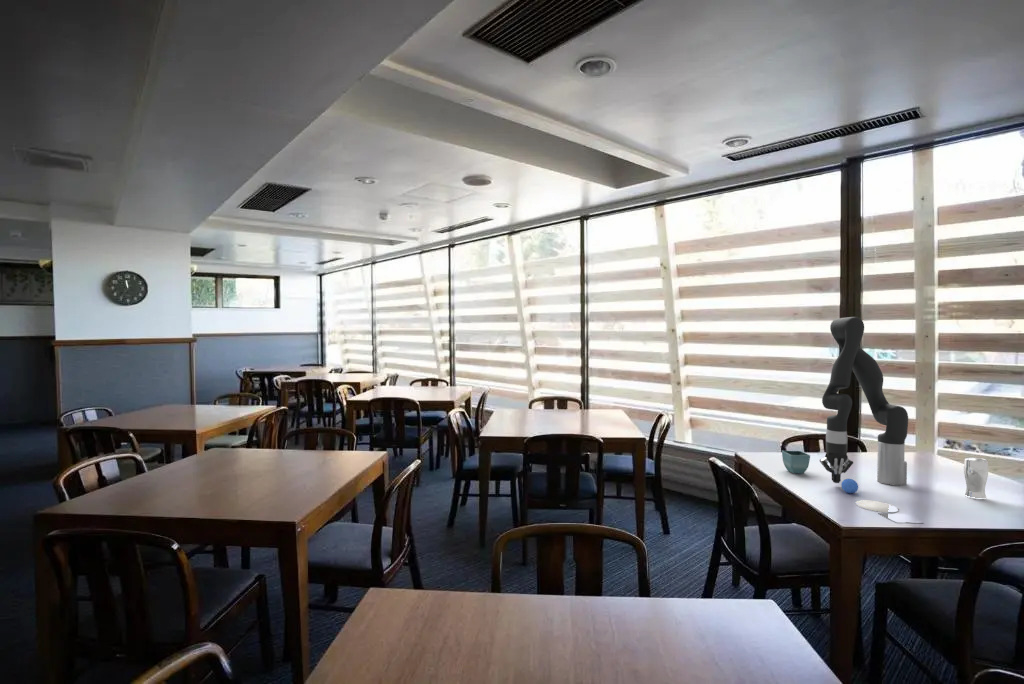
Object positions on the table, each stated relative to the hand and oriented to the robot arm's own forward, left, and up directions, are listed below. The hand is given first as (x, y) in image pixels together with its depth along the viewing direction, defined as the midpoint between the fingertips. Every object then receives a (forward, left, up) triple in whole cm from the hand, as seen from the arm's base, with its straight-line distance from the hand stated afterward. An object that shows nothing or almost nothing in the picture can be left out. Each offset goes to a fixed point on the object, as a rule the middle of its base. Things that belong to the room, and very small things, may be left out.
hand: (836, 482), depth 211 cm
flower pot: (+6, -21, -2) cm, 22 cm away
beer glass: (-45, +13, -2) cm, 47 cm away
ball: (0, +9, +1) cm, 9 cm away
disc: (0, +25, -2) cm, 25 cm away
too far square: (0, +37, -2) cm, 37 cm away
